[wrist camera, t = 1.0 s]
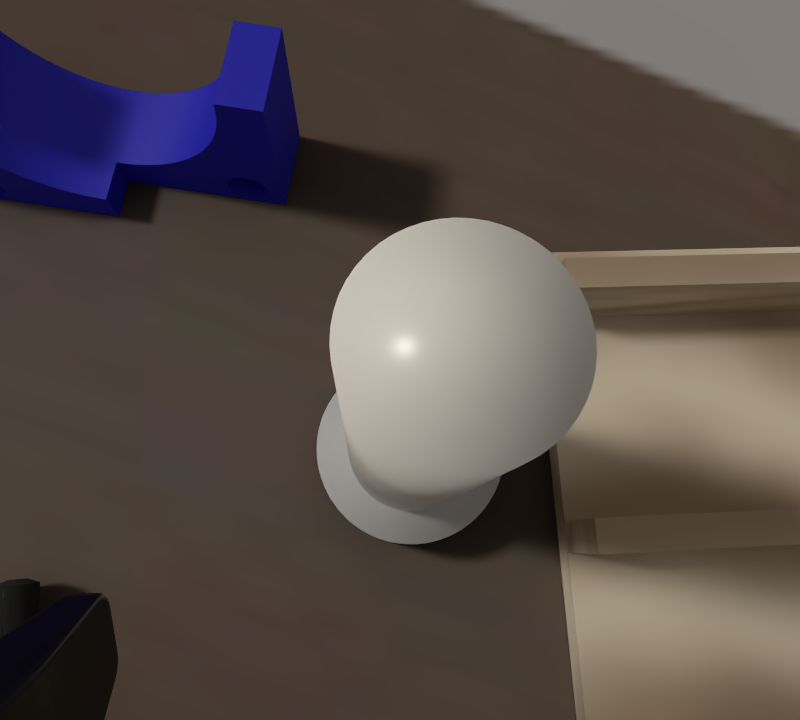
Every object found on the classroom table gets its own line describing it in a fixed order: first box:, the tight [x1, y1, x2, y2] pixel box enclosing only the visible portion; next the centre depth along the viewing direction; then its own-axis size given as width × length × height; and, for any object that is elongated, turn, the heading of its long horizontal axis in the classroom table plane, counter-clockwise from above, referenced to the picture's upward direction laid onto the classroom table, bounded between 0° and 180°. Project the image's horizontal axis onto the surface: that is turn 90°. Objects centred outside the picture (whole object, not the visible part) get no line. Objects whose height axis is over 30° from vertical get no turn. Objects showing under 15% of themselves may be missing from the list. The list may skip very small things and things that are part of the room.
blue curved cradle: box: [0, 21, 300, 217], centre depth 23 cm, size 12×4×6 cm, turn 82°
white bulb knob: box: [317, 218, 597, 544], centre depth 17 cm, size 6×6×14 cm
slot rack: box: [549, 247, 800, 720], centre depth 22 cm, size 20×12×4 cm, turn 3°
